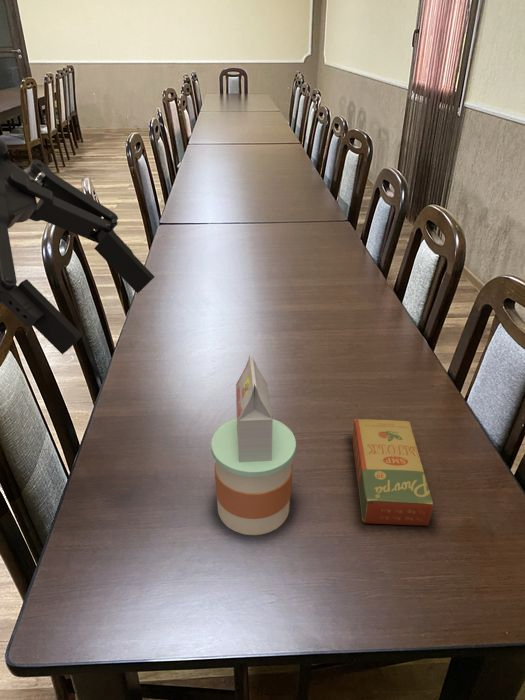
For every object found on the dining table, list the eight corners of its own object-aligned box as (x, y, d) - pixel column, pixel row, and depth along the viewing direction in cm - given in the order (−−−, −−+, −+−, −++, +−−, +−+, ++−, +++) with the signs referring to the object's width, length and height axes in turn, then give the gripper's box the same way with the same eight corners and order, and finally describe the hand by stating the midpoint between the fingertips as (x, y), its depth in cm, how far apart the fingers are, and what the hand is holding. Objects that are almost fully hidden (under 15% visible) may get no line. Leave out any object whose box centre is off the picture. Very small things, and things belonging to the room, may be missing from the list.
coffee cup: (202, 526, 66) (197, 460, 61) (230, 471, 74) (228, 409, 69) (280, 546, 64) (283, 480, 58) (300, 487, 72) (304, 424, 66)
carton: (406, 442, 80) (411, 419, 78) (430, 528, 66) (436, 503, 64) (350, 439, 80) (353, 416, 78) (362, 524, 67) (366, 500, 64)
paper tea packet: (266, 422, 66) (267, 354, 61) (271, 460, 61) (273, 388, 55) (236, 424, 66) (235, 355, 61) (239, 462, 60) (237, 389, 55)
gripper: (-179, 129, 36) (53, 355, 40) (50, 95, 57) (188, 247, 61) (-204, 200, 40) (9, 400, 44) (18, 145, 61) (150, 284, 65)
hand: (113, 312), depth 52 cm, fingers open, 13 cm apart
